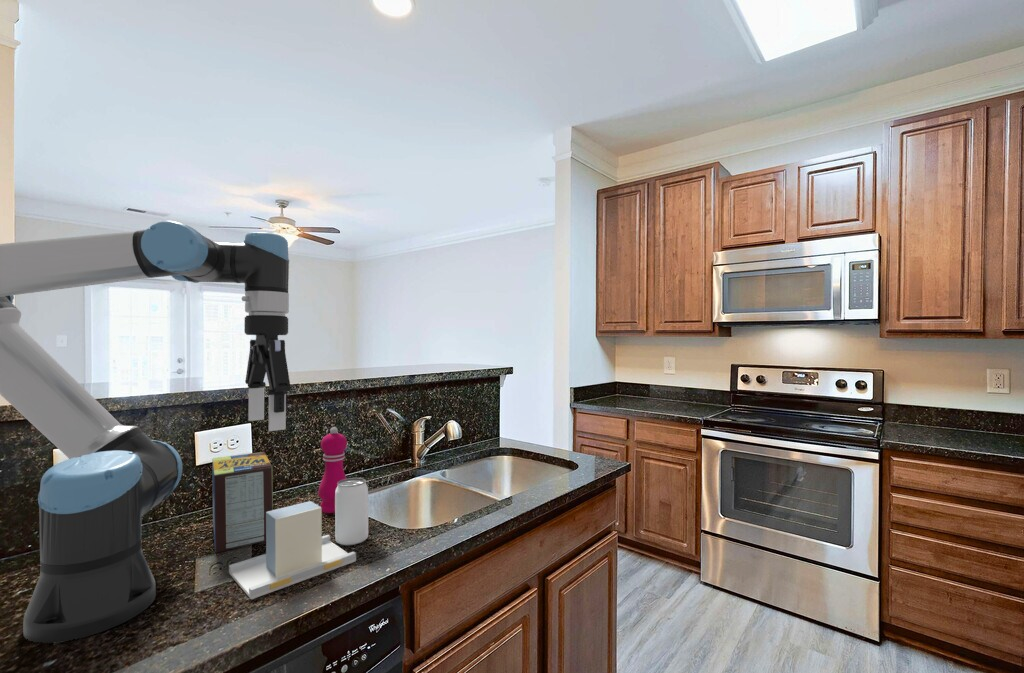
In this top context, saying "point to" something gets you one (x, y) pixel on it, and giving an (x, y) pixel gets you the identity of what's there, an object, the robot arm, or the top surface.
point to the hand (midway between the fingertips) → (266, 425)
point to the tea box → (293, 538)
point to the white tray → (262, 581)
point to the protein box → (241, 499)
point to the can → (351, 511)
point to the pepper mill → (332, 468)
